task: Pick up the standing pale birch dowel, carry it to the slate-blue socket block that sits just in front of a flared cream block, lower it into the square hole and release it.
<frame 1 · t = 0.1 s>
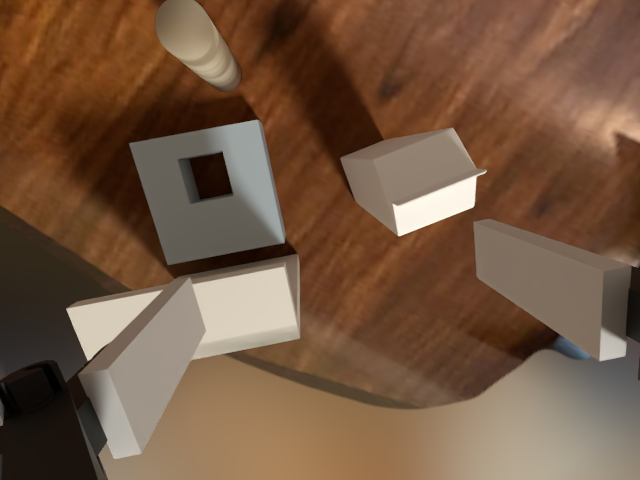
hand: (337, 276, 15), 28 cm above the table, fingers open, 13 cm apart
birch peg: (224, 73, 38), on the table
socket block: (218, 191, 41), on the table
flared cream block: (234, 252, 43), on the table
milk: (369, 171, 42), on the table
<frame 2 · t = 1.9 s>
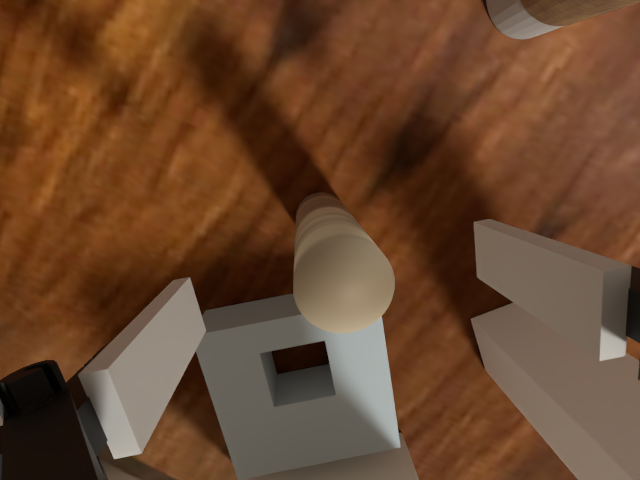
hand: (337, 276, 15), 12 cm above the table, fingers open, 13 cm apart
birch peg: (320, 217, 26), on the table
socket block: (303, 364, 30), on the table
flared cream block: (318, 433, 32), on the table
milk: (506, 332, 31), on the table
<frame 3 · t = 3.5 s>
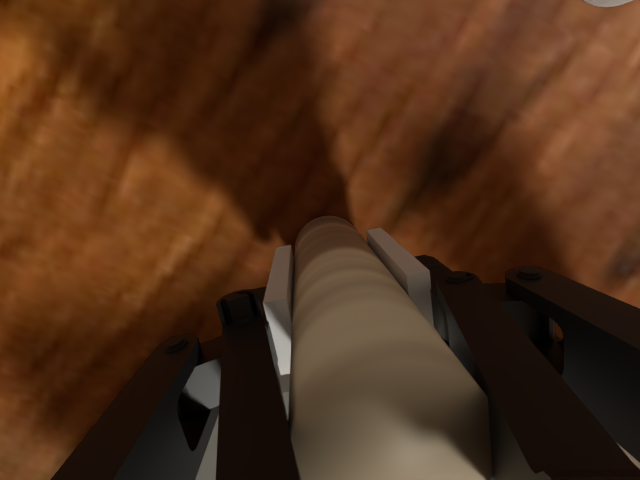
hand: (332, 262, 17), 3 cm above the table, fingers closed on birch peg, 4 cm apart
birch peg: (328, 248, 20), on the table, touching gripper
socket block: (304, 437, 23), on the table
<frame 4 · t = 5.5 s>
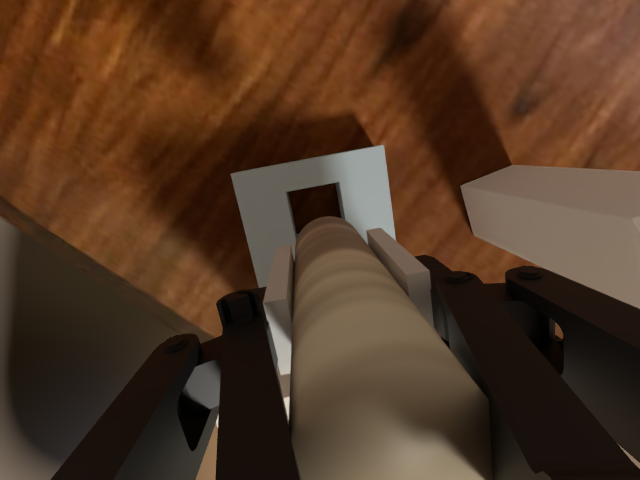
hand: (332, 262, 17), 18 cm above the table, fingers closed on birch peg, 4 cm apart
birch peg: (328, 249, 20), point 16 cm above the table, touching gripper
socket block: (318, 225, 35), on the table
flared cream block: (331, 292, 37), on the table
milk: (491, 200, 36), on the table
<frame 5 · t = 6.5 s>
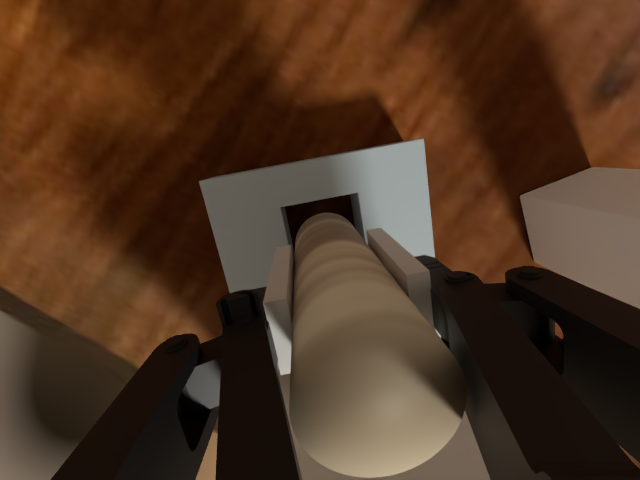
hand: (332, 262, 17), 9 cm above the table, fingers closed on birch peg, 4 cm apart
birch peg: (326, 243, 21), point 5 cm above the table, touching gripper
socket block: (326, 249, 26), on the table
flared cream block: (342, 338, 28), on the table
milk: (559, 215, 27), on the table
when the fingers open (5 cm above the table, at t = 7.4 s): birch peg drops 1 cm, resting in socket block.
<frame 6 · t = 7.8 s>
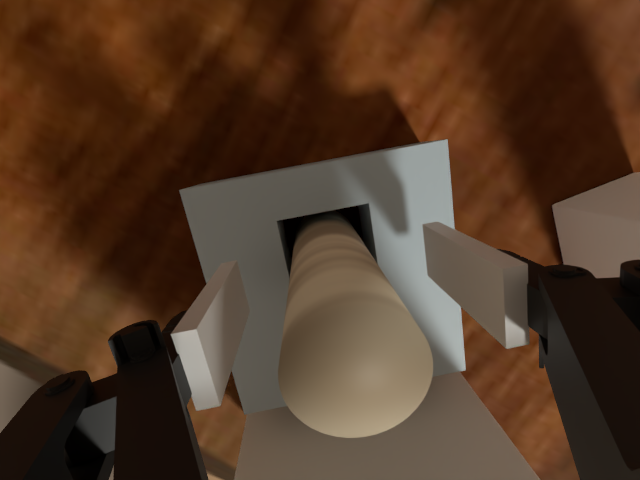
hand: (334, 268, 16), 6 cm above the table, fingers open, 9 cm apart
birch peg: (324, 239, 22), resting in socket block
socket block: (330, 266, 23), on the table
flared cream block: (348, 366, 25), on the table
milk: (596, 227, 23), on the table
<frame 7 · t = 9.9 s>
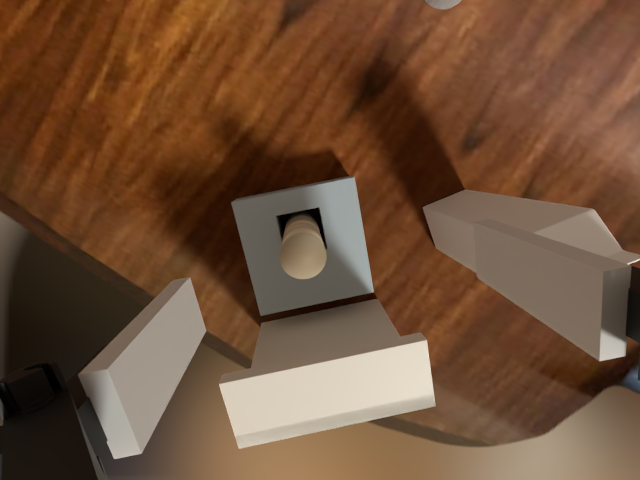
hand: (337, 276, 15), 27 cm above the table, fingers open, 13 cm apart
birch peg: (301, 226, 42), resting in socket block
socket block: (305, 241, 42), on the table
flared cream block: (317, 298, 44), on the table
milk: (449, 219, 43), on the table
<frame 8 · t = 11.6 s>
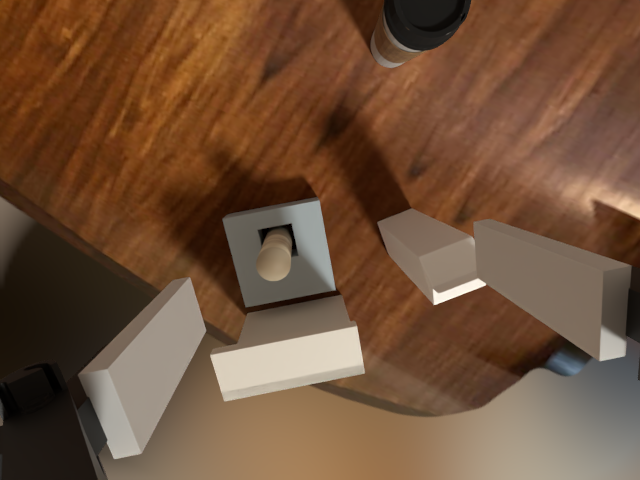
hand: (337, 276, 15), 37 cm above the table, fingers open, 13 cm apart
birch peg: (279, 236, 52), resting in socket block
socket block: (282, 248, 52), on the table
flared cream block: (292, 294, 55), on the table
coffee cup: (390, 45, 46), on the table
milk: (399, 231, 53), on the table
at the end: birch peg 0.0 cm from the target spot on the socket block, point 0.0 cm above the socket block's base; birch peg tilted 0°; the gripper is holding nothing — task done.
